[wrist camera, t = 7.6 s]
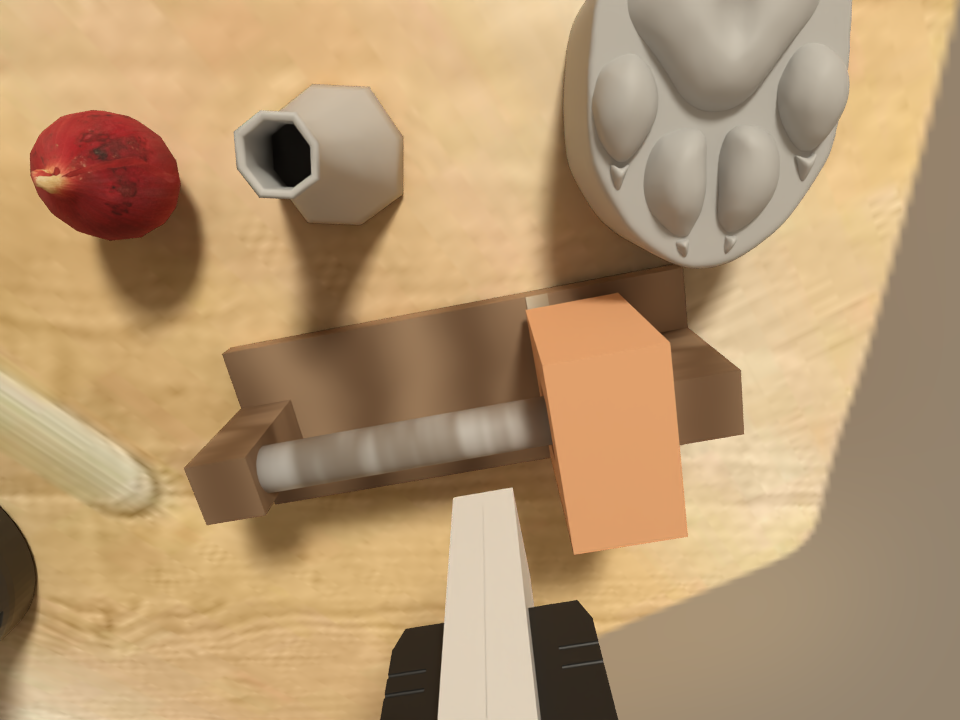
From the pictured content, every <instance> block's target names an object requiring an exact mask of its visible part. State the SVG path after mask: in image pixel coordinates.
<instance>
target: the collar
mask: <svg viewBox="0 0 960 720" xmlns="http://www.w3.org/2000/svg"><path fill="white" fill-rule="evenodd" d="M526 316H527V322H528V328H529V334H530V339H531V345H532V351H533V357H534V363H535V369H536V374H537V380H538V386H539V392H540V397H541V396H544V399H545V402H546V407H547V413H548V419H549V425H550V431H551V437H552V443H553V445H549V450H550V456H551V460H552V465H553V469H554V473H555V477H556V481H557V486H558V490H559V494H560V498H561V502H562V506H563V511H564V515H565V519H566V523H567V527H568V532H569V536H570V540H571V544H572V548H573V553H574V555H576V554H582V553H588V552H594V551H601V550H607V549H613V548H619V547H626V546H632V545H638V544H644V543H651V542H657V541H663V540H669V539H676V538H682V537H688V533H687V522H686V511H685V500H684V489H683V478H682V467H681V456H680V445H679V434H678V423H677V412H676V401H675V390H674V379H673V368H672V357H671V346H670V342H669V341H668V340H667V339H666V338H665V337H664V336H663V335H662V334H661V333H660V332H658V331H657V330H656V329H655V328H654V327H653V326H652V325H651V324H650V323H649V322H648V321H647V320H646V319H645V318H644V317H643V316H642V315H641V314H640V313H639V312H638V311H637V310H636V309H635V308H633V307H632V306H631V305H630V304H629V303H628V302H627V301H626V300H625V299H624V298H623V297H622V296H621V295H620V294H619V293H614V294H609V295H603V296H598V297H593V298H587V299H582V300H576V301H571V302H566V303H560V304H555V305H550V306H544V307H539V308H534V309H528V310H526Z"/></svg>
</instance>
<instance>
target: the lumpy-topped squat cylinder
mask: <svg viewBox="0 0 960 720" xmlns="http://www.w3.org/2000/svg"><path fill="white" fill-rule="evenodd" d="M851 16H852V0H586V1H585V3H584V4H583V6H582V7H581V9H580V10H579V12H578V14H577V16H576V18H575V20H574V23H573V25H572V28H571V31H570V35H569V40H568V45H567V53H566V66H565V78H564V94H563V116H564V137H565V148H566V155H567V161H568V165H569V168H570V171H571V173H572V175H573V177H574V179H575V181H576V183H577V185H578V187H579V189H580V190H581V192H582V194H583V195H584V197H585V199H586V200H587V202H588V204H589V205H590V207H591V208H592V210H593V211H594V212H595V214H596V215H597V216H598V217H599V219H600V220H601V221H602V222H603V223H604V224H605V225H607V226H608V227H609V228H610V229H611V230H613V231H614V232H615V233H617V234H618V235H620V236H621V237H623V238H624V239H626V240H628V241H630V242H632V243H634V244H635V245H637V246H639V247H641V248H643V249H645V250H646V251H648V252H650V253H652V254H654V255H656V256H658V257H660V258H662V259H664V260H666V261H668V262H671V263H673V264H676V265H679V266H682V267H687V268H710V267H716V266H719V265H722V264H725V263H728V262H731V261H733V260H735V259H737V258H739V257H741V256H742V255H744V254H746V253H747V252H749V251H750V250H752V249H753V248H755V247H756V246H758V245H759V244H760V243H761V242H763V241H764V240H765V239H766V238H768V237H769V236H770V235H771V234H773V233H774V232H775V231H776V230H777V229H778V228H779V227H780V226H781V225H782V224H783V223H784V222H785V221H786V220H787V218H788V217H789V216H790V215H791V214H792V212H793V211H794V210H795V208H796V207H797V206H798V204H799V203H800V201H801V200H802V199H803V197H804V196H805V194H806V193H807V191H808V190H809V188H810V187H811V185H812V184H813V182H814V180H815V179H816V177H817V176H818V174H819V172H820V171H821V169H822V167H823V166H824V164H825V162H826V160H827V158H828V156H829V154H830V151H831V148H832V145H833V141H834V138H835V134H836V129H837V125H838V121H839V118H840V117H841V115H842V113H843V111H844V108H845V106H846V103H847V99H848V94H849V75H848V63H849V52H850V30H851Z"/></svg>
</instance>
